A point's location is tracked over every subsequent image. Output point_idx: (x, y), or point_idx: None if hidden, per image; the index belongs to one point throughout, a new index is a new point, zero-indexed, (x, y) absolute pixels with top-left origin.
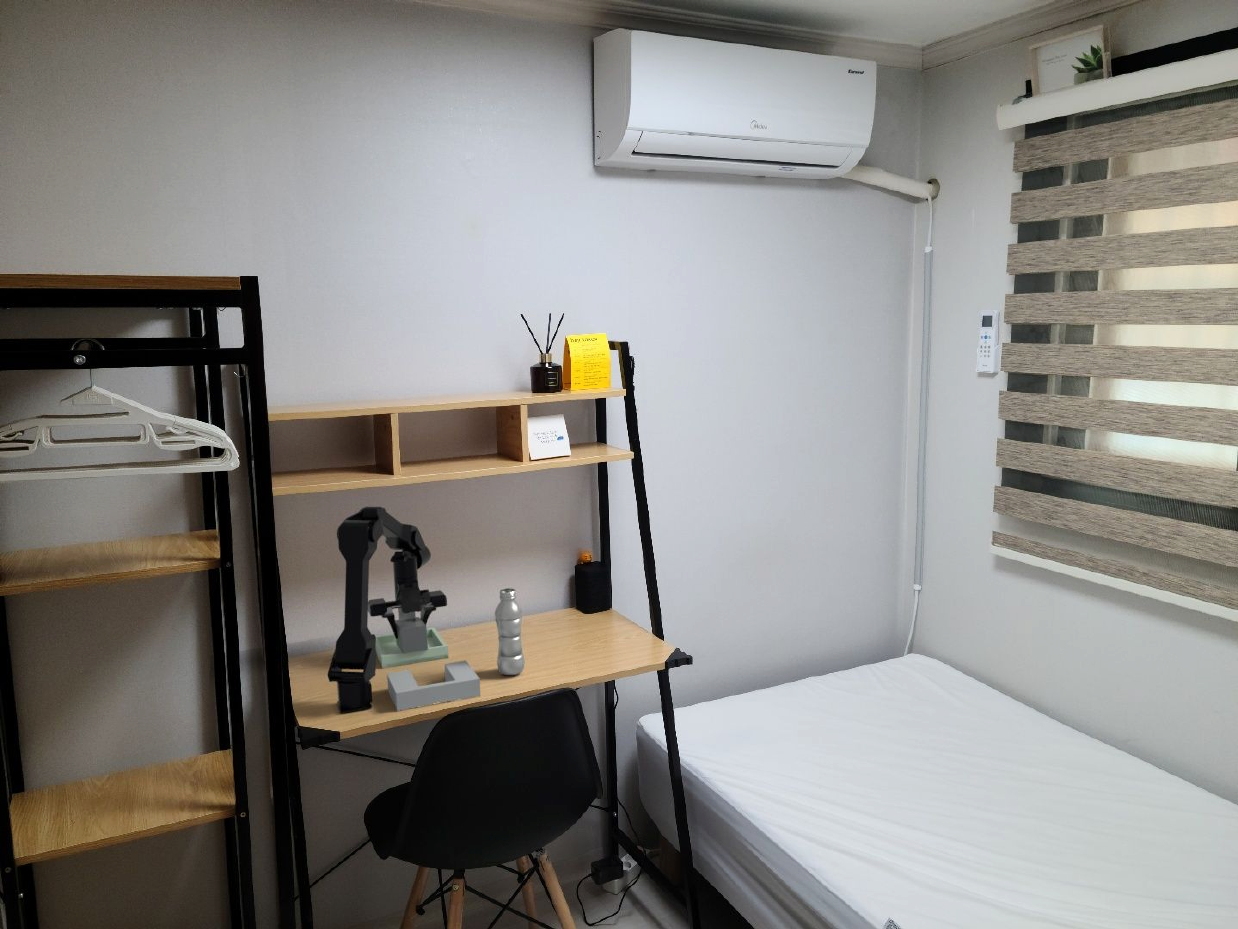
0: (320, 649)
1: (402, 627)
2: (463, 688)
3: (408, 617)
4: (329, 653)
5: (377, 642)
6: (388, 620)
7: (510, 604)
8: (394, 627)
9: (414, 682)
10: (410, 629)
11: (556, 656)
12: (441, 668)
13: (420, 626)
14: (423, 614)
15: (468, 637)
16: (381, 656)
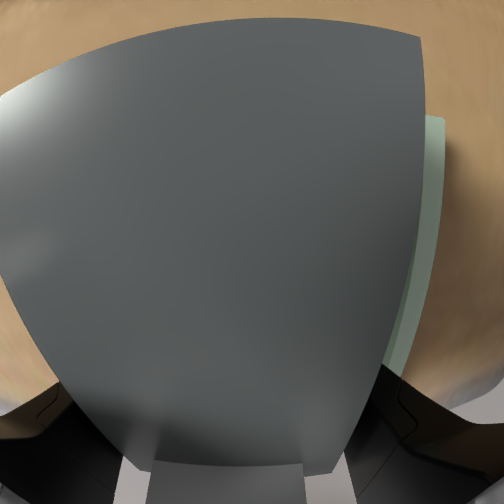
0: (470, 392)
1: (380, 174)
2: None
3: (214, 484)
4: (475, 365)
5: (395, 364)
6: (472, 425)
7: None
8: (378, 382)
9: None
10: (213, 33)
11: None
12: (109, 13)
13: (16, 87)
14: (39, 447)
15: (33, 348)
16: (444, 126)
